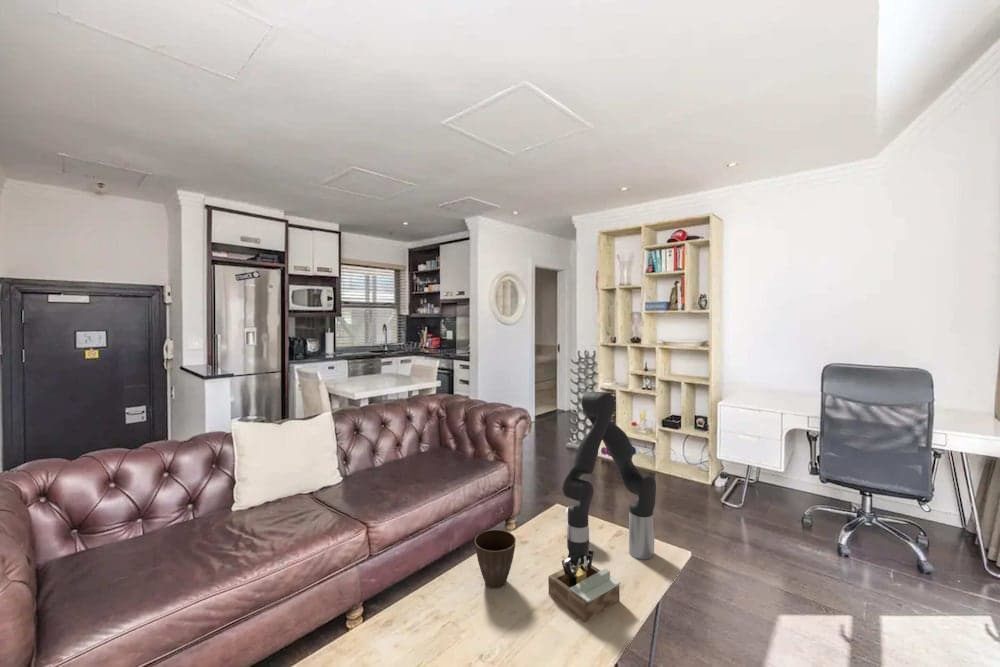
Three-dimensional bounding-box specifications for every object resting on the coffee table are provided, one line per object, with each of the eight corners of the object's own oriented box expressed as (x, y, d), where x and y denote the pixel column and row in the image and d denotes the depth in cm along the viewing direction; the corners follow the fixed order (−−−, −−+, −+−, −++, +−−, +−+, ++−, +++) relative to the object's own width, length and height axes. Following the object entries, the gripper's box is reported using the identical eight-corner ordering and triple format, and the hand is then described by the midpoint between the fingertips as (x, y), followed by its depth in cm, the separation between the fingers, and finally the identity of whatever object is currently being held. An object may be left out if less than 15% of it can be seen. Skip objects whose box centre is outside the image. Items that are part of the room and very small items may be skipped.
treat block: (578, 580, 154) (578, 566, 154) (586, 586, 151) (586, 572, 150) (570, 584, 152) (569, 570, 151) (578, 590, 148) (578, 576, 148)
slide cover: (602, 572, 152) (602, 562, 152) (620, 583, 146) (620, 573, 145) (569, 589, 143) (569, 579, 143) (587, 602, 136) (587, 591, 136)
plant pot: (505, 566, 168) (504, 526, 167) (523, 588, 155) (522, 544, 154) (469, 576, 162) (468, 535, 161) (485, 600, 148) (484, 555, 147)
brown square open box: (582, 576, 161) (582, 559, 161) (619, 600, 147) (619, 582, 147) (548, 594, 151) (548, 576, 151) (584, 622, 137) (584, 602, 137)
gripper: (584, 525, 157) (584, 571, 158) (555, 537, 149) (555, 585, 150) (600, 533, 151) (600, 581, 152) (571, 547, 143) (571, 597, 144)
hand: (578, 583), depth 151 cm, fingers open, 4 cm apart
